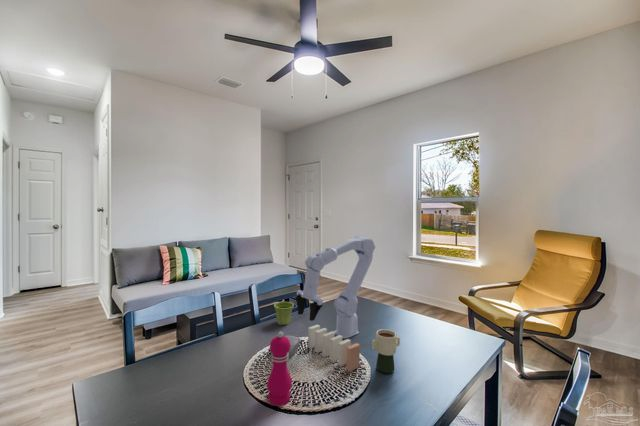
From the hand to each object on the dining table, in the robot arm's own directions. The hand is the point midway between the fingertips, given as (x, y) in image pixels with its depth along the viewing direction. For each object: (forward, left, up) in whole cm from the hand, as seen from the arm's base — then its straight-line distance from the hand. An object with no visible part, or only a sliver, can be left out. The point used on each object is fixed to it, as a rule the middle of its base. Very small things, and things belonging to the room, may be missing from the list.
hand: (306, 317), depth 123 cm
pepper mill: (+28, +23, -11) cm, 38 cm away
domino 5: (-1, +21, -11) cm, 24 cm away
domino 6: (-1, +26, -11) cm, 28 cm away
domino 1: (-1, +5, -11) cm, 12 cm away
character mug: (-9, +34, -11) cm, 36 cm away
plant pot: (-5, -22, -11) cm, 25 cm away
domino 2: (-1, +9, -11) cm, 14 cm away
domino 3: (-1, +13, -11) cm, 17 cm away
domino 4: (-1, +17, -11) cm, 20 cm away
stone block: (+10, -1, -11) cm, 15 cm away
